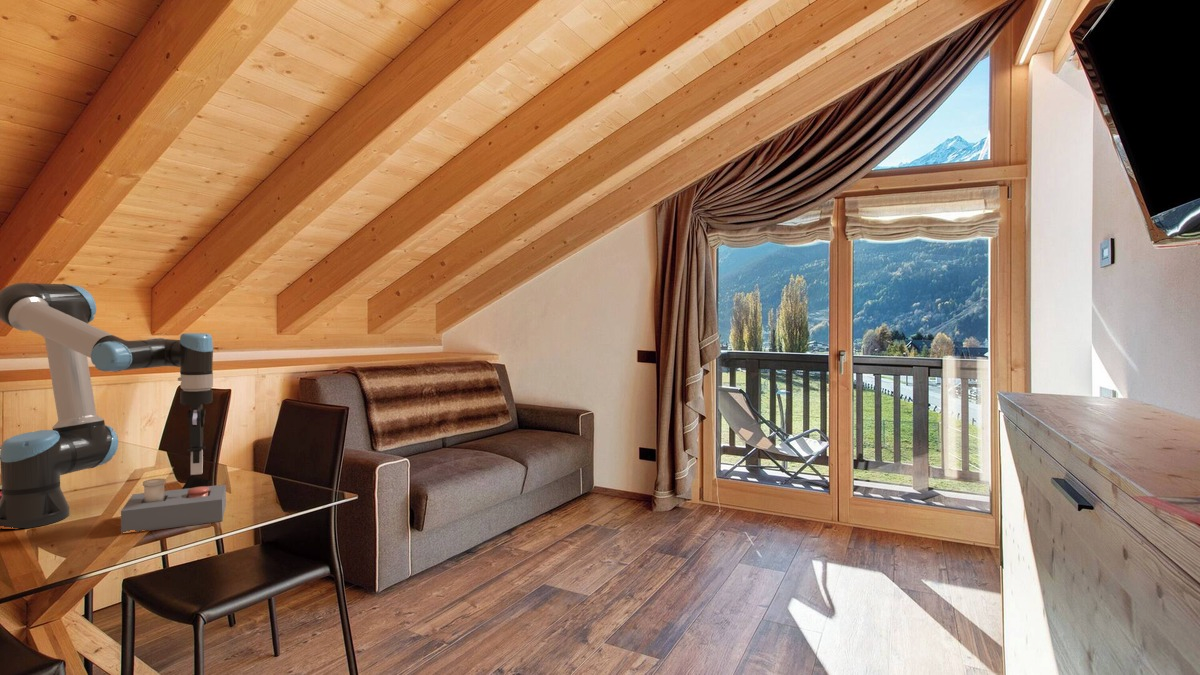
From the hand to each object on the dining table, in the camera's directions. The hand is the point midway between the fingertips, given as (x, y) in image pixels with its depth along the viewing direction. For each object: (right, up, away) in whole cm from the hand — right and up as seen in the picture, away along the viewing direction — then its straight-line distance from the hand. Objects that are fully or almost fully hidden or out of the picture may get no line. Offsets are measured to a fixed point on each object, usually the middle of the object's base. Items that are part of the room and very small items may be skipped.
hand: (196, 473), depth 172 cm
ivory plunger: (-8, -8, -4) cm, 12 cm away
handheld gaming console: (-14, -11, +16) cm, 24 cm away
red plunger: (0, -11, 0) cm, 11 cm away
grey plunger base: (-4, -12, -2) cm, 13 cm away
